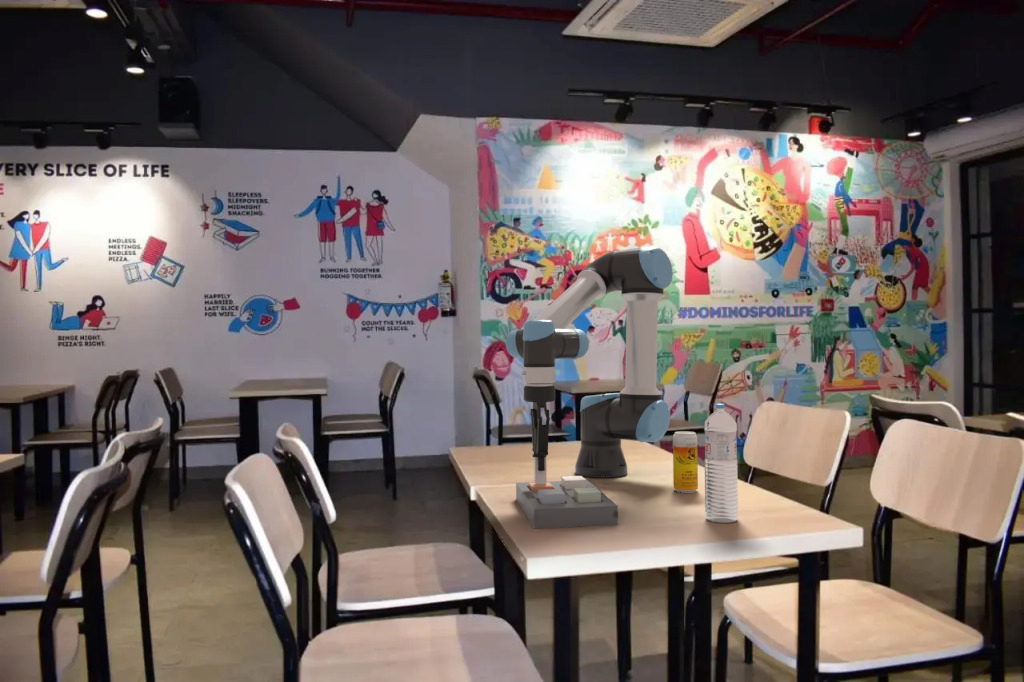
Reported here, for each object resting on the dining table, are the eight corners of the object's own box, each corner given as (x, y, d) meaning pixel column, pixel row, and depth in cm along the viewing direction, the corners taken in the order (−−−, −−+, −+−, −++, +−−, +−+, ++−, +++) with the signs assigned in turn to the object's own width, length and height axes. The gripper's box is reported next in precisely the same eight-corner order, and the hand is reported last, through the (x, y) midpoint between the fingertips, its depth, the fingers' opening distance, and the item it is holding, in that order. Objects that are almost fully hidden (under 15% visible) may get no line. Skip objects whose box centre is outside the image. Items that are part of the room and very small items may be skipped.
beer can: (684, 494, 181) (683, 434, 181) (668, 490, 186) (667, 432, 186) (703, 491, 184) (702, 433, 184) (686, 487, 189) (686, 430, 189)
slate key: (560, 502, 161) (560, 488, 161) (565, 507, 156) (564, 493, 156) (538, 503, 161) (538, 489, 161) (542, 508, 156) (542, 494, 156)
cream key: (581, 488, 176) (581, 475, 176) (586, 492, 171) (586, 479, 171) (561, 488, 175) (561, 476, 175) (565, 493, 170) (565, 480, 170)
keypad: (587, 496, 181) (587, 480, 181) (618, 524, 153) (617, 505, 153) (516, 498, 179) (516, 482, 179) (534, 528, 151) (534, 509, 151)
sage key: (595, 500, 162) (595, 487, 162) (601, 506, 157) (600, 492, 157) (573, 501, 162) (573, 488, 162) (578, 506, 157) (578, 493, 157)
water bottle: (733, 525, 151) (731, 406, 151) (701, 521, 155) (699, 404, 155) (741, 518, 157) (740, 403, 157) (710, 514, 161) (709, 402, 161)
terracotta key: (549, 494, 175) (549, 482, 175) (553, 498, 170) (552, 486, 170) (528, 495, 174) (528, 482, 174) (532, 499, 169) (532, 487, 169)
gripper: (520, 383, 178) (521, 479, 178) (527, 386, 165) (529, 489, 165) (549, 382, 179) (550, 477, 179) (560, 386, 166) (561, 488, 166)
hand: (540, 483), depth 172 cm, fingers closed
